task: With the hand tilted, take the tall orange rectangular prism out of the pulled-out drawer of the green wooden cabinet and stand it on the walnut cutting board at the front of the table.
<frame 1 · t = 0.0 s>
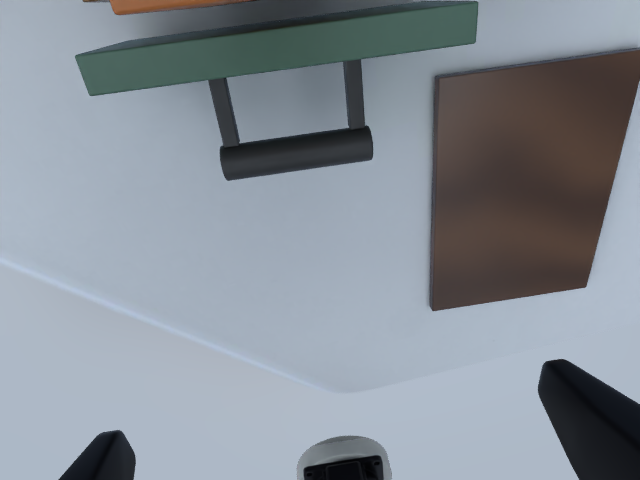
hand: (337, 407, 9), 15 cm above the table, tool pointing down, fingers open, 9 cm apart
board: (518, 195, 23), on the table
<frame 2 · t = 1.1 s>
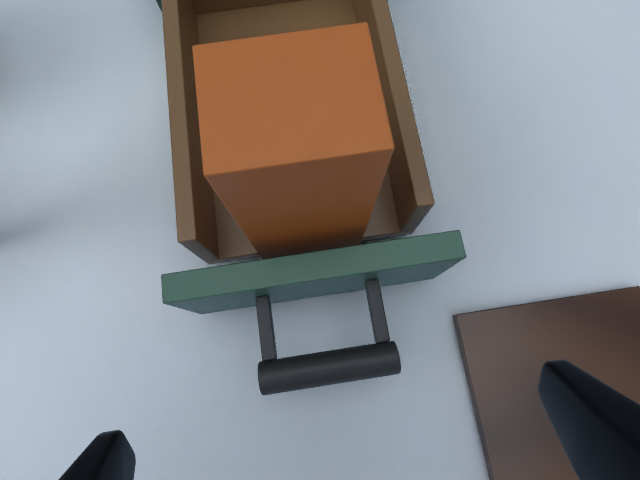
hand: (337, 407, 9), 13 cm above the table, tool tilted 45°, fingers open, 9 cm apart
orange rectangular prism: (306, 218, 22), point 2 cm above the table, touching drawer
board: (582, 440, 21), on the table
drawer: (296, 150, 21), point 4 cm above the table, slide at 17.0 cm, touching orange rectangular prism
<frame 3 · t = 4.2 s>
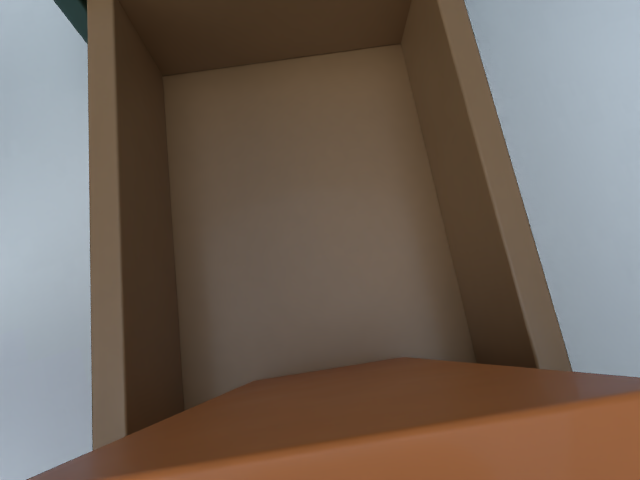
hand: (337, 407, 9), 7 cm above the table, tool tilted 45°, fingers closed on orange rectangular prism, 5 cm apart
orange rectangular prism: (339, 435, 13), point 2 cm above the table, touching drawer, gripper
drawer: (324, 330, 12), point 4 cm above the table, slide at 17.0 cm, touching orange rectangular prism
when the fingers open (5 cm above the table, at t = 12.1 s): orange rectangular prism stays where it is, resting on board.
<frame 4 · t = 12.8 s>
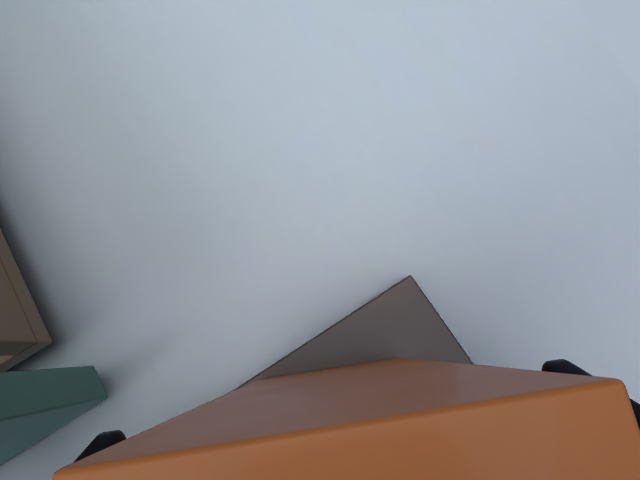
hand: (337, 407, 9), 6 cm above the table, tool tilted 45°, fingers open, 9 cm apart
orange rectangular prism: (338, 431, 14), point 1 cm above the table, touching board
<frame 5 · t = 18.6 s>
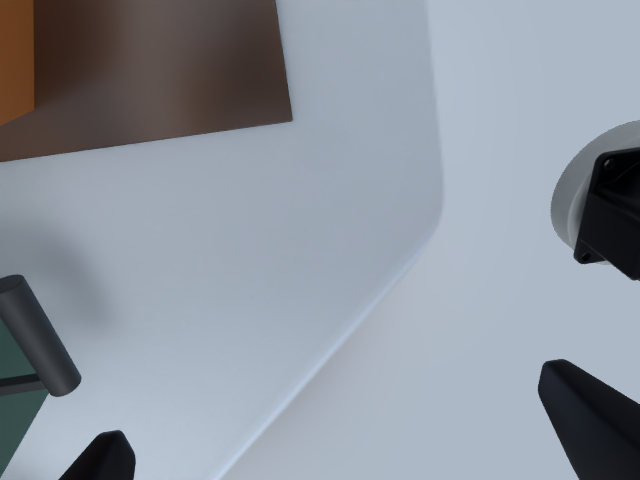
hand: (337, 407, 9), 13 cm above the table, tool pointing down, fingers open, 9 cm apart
board: (90, 11, 16), on the table
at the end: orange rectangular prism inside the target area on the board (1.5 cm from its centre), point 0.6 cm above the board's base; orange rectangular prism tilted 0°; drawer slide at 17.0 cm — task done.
